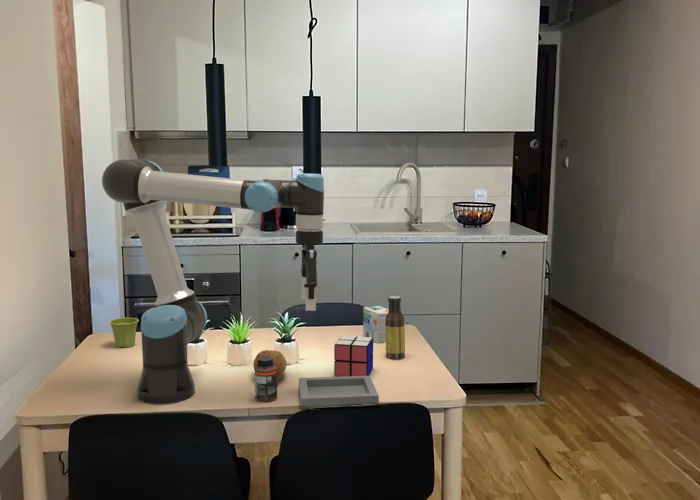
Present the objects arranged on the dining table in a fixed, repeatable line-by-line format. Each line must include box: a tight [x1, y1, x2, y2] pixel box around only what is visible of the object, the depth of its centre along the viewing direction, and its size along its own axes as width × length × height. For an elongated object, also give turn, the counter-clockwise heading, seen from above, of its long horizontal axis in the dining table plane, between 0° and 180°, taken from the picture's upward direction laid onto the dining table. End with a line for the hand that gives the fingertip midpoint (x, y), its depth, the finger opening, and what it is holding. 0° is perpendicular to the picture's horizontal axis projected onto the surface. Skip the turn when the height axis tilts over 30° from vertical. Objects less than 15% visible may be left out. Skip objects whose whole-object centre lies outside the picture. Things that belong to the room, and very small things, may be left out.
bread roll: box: [252, 349, 287, 382], centre depth 196 cm, size 10×15×8 cm, turn 6°
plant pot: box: [108, 317, 140, 348], centre depth 228 cm, size 9×9×9 cm
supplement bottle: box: [254, 356, 278, 403], centre depth 179 cm, size 6×6×11 cm
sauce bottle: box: [385, 295, 406, 360], centre depth 216 cm, size 6×6×20 cm
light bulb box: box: [362, 305, 389, 344], centre depth 238 cm, size 11×7×11 cm, turn 28°
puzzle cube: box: [333, 335, 374, 377], centre depth 201 cm, size 10×10×10 cm
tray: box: [298, 375, 380, 411], centre depth 181 cm, size 20×16×3 cm
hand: (308, 304), depth 189 cm, fingers open, 13 cm apart
